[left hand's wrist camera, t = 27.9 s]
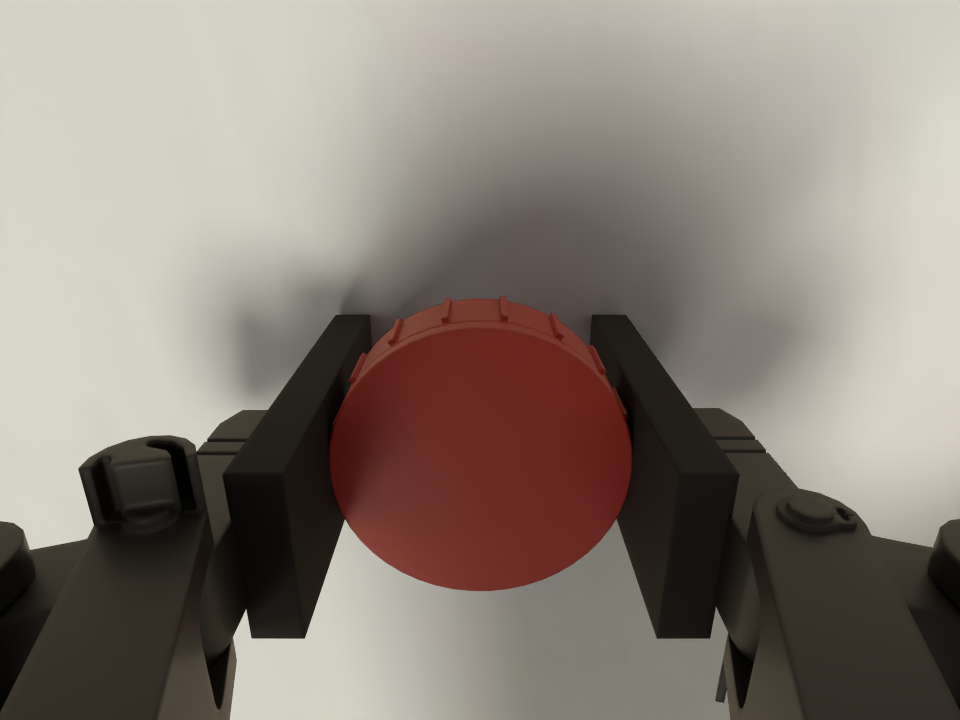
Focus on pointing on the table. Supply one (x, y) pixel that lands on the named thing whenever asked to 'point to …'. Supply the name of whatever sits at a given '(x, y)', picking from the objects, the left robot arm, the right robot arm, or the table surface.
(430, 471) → the lid
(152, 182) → the table surface
